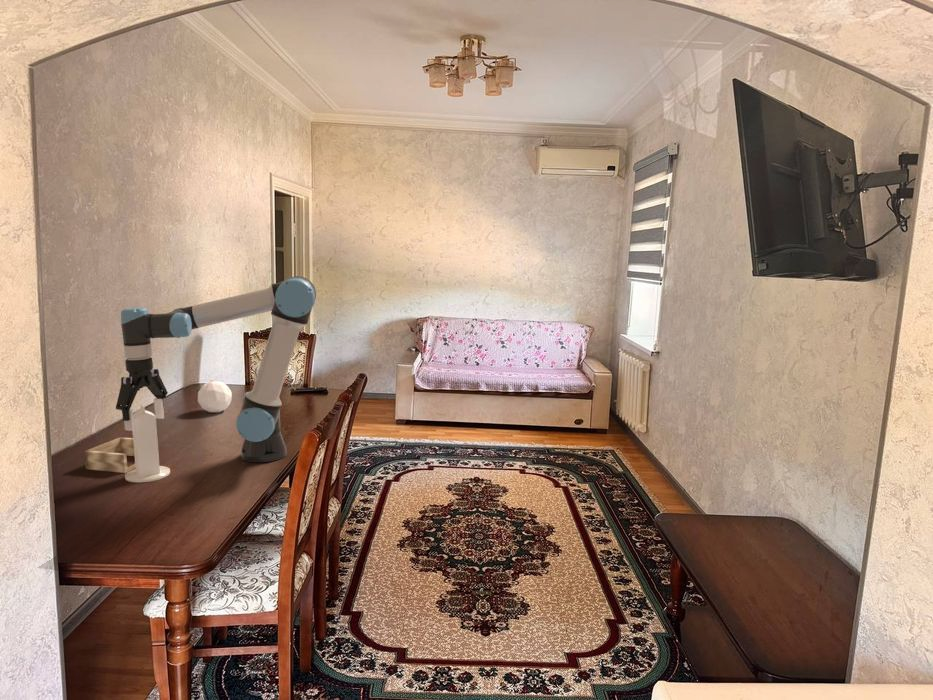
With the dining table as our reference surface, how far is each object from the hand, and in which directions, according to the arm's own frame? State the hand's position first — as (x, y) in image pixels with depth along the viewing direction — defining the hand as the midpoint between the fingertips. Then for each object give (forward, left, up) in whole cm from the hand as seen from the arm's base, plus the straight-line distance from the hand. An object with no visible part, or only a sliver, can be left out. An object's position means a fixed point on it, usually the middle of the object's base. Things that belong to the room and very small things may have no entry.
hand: (145, 424), depth 206 cm
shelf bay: (+16, -8, -17) cm, 25 cm away
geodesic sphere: (+25, -74, -17) cm, 80 cm away
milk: (0, 0, -16) cm, 16 cm away
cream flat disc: (0, 0, -17) cm, 17 cm away
